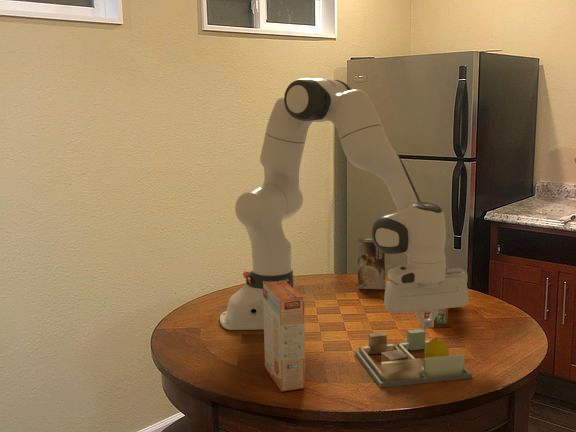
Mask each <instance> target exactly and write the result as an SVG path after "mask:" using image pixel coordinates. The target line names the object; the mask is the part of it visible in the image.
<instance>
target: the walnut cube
mask: <svg viewBox="0 0 576 432" xmlns="http://www.w3.org/2000/svg"><path fill="white" fill-rule="evenodd" d="M408 358H409V357H408V356H407V355H405V354H404V353H402V352H401V351H400V350H393V351H387V352H382V353H380V363H381V362H388V361H398V360H408Z"/></svg>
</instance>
